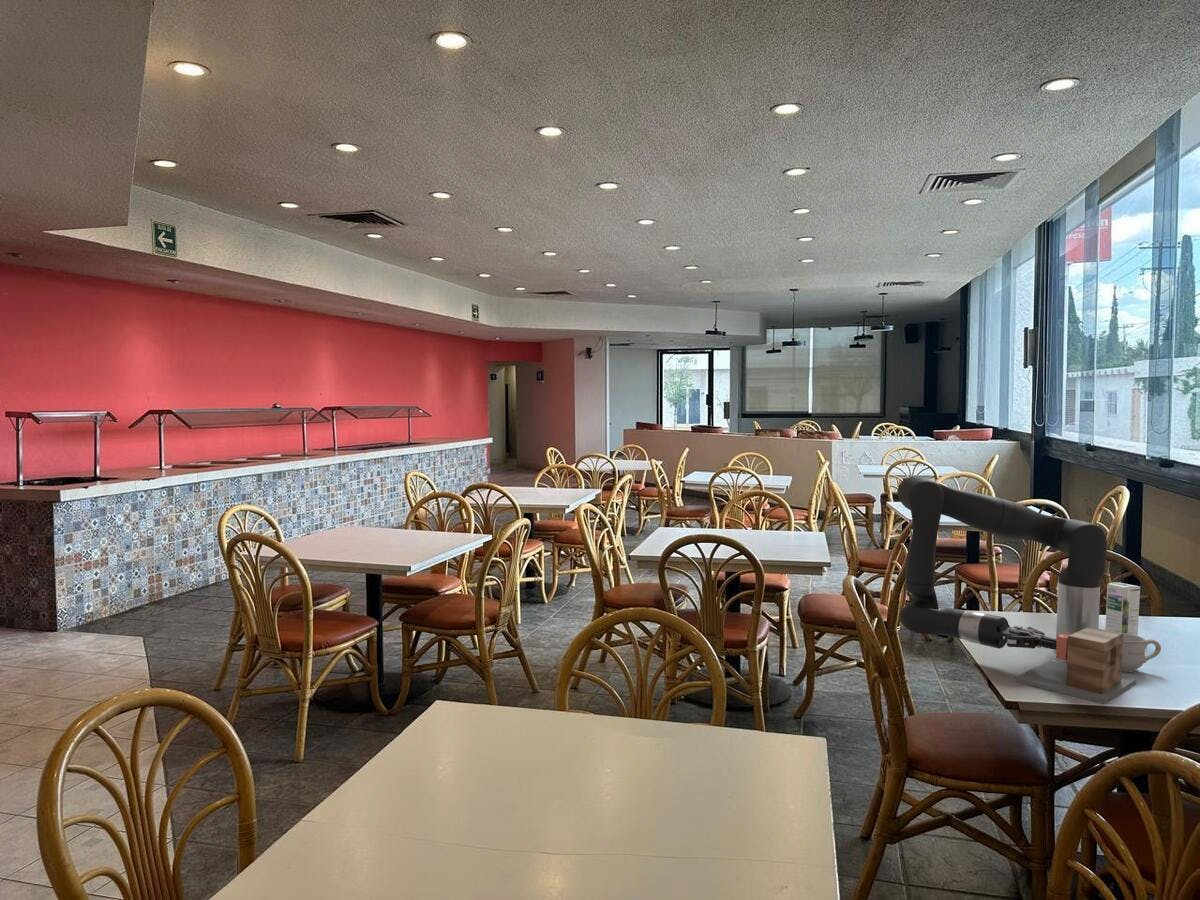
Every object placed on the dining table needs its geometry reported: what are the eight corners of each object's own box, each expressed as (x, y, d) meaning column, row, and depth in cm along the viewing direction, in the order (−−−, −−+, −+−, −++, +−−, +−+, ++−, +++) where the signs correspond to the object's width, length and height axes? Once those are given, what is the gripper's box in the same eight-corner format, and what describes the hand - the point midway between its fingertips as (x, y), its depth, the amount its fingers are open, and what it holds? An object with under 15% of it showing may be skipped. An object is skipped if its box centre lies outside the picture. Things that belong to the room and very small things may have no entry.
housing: (1085, 678, 186) (1088, 626, 185) (1120, 686, 181) (1123, 633, 180) (1066, 690, 178) (1068, 635, 178) (1101, 698, 173) (1104, 643, 172)
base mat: (1050, 664, 197) (1050, 660, 196) (1135, 683, 183) (1136, 679, 183) (1015, 681, 183) (1015, 677, 183) (1104, 704, 170) (1105, 699, 170)
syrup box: (1103, 635, 222) (1106, 583, 222) (1117, 633, 225) (1119, 581, 224) (1124, 641, 217) (1127, 587, 217) (1138, 638, 220) (1141, 585, 219)
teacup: (1092, 671, 192) (1094, 637, 191) (1089, 658, 201) (1090, 626, 201) (1164, 680, 185) (1165, 646, 185) (1157, 667, 195) (1158, 634, 194)
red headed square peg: (1064, 654, 186) (1065, 632, 186) (1108, 663, 179) (1109, 641, 179) (1055, 658, 183) (1056, 636, 183) (1100, 668, 176) (1101, 645, 176)
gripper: (971, 618, 193) (1049, 633, 180) (995, 609, 202) (1072, 624, 189) (970, 649, 193) (1048, 667, 180) (994, 639, 202) (1070, 656, 189)
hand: (1060, 645), depth 184 cm, fingers closed
